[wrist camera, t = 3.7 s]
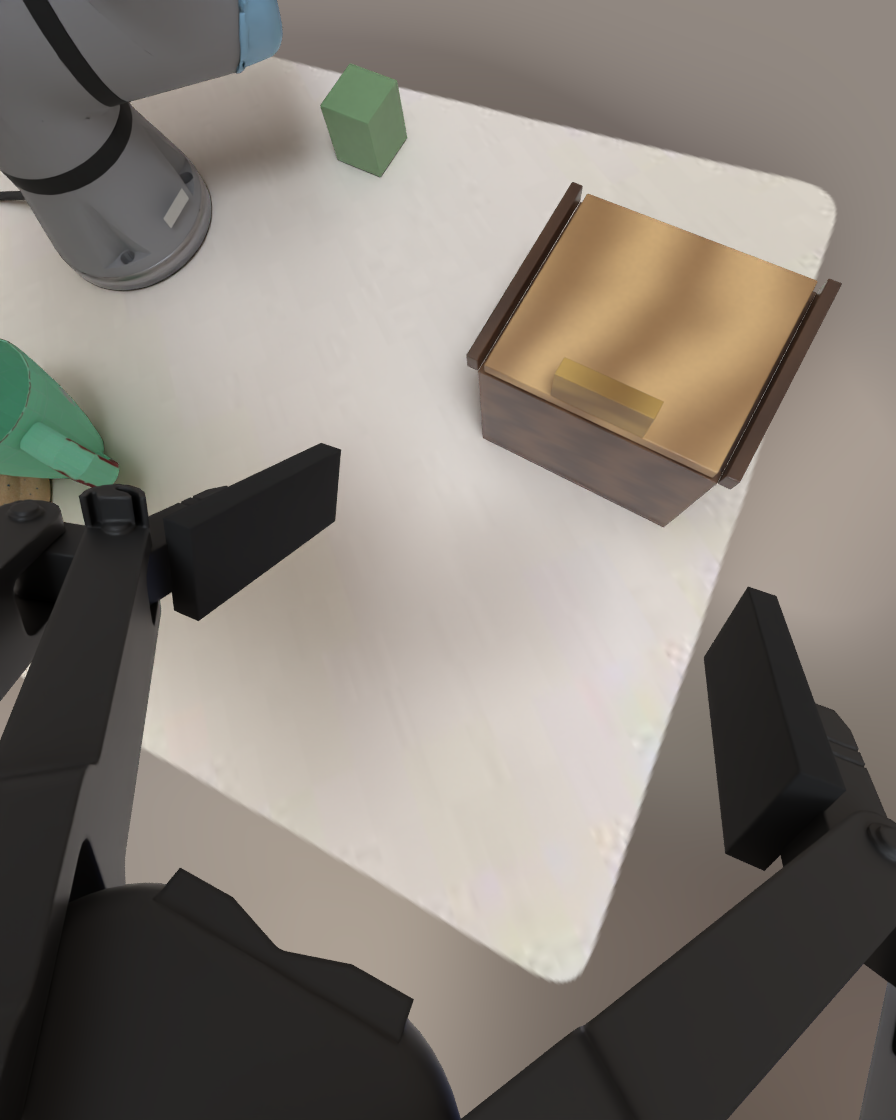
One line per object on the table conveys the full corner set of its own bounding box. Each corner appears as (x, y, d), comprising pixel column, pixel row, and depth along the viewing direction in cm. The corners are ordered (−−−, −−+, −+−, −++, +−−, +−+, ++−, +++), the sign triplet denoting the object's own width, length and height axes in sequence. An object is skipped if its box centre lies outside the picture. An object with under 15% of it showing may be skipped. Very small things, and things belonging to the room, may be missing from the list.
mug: (7, 474, 46) (-124, 424, 37) (70, 385, 48) (-41, 314, 38) (129, 550, 44) (23, 518, 34) (193, 454, 45) (108, 396, 35)
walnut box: (474, 433, 43) (465, 355, 32) (554, 299, 44) (572, 180, 33) (673, 532, 39) (739, 482, 29) (751, 383, 41) (842, 283, 30)
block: (337, 160, 49) (319, 105, 45) (364, 120, 50) (349, 62, 45) (380, 177, 49) (367, 123, 44) (407, 137, 49) (397, 79, 44)
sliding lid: (484, 371, 33) (482, 341, 29) (585, 203, 34) (594, 157, 31) (712, 478, 30) (736, 457, 27) (810, 290, 31) (845, 249, 28)
